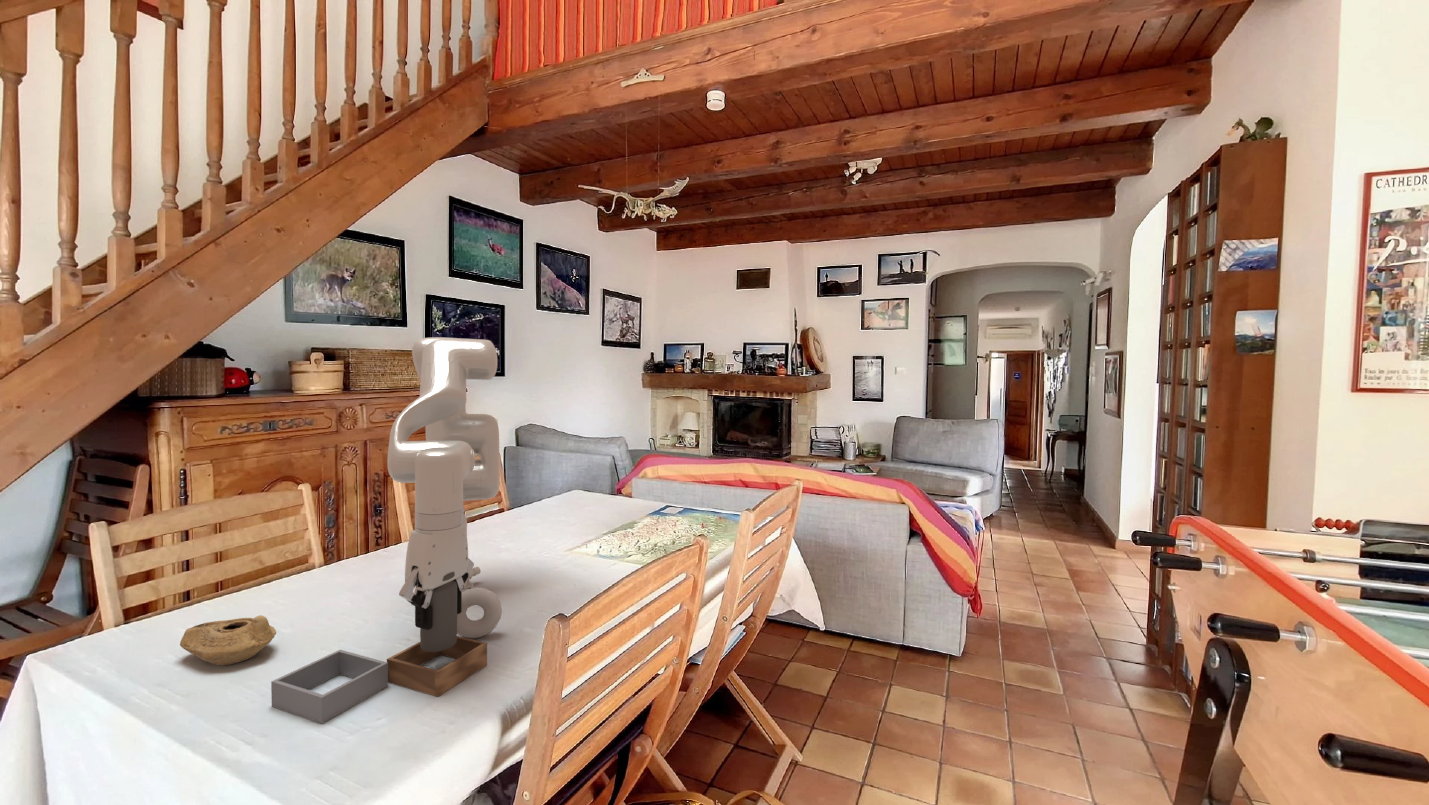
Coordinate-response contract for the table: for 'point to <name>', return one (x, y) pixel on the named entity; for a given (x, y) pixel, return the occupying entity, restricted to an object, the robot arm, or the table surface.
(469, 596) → the donut
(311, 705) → the grey bin
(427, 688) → the walnut bin
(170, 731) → the table surface
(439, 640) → the bottle
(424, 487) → the robot arm
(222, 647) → the oil lamp
